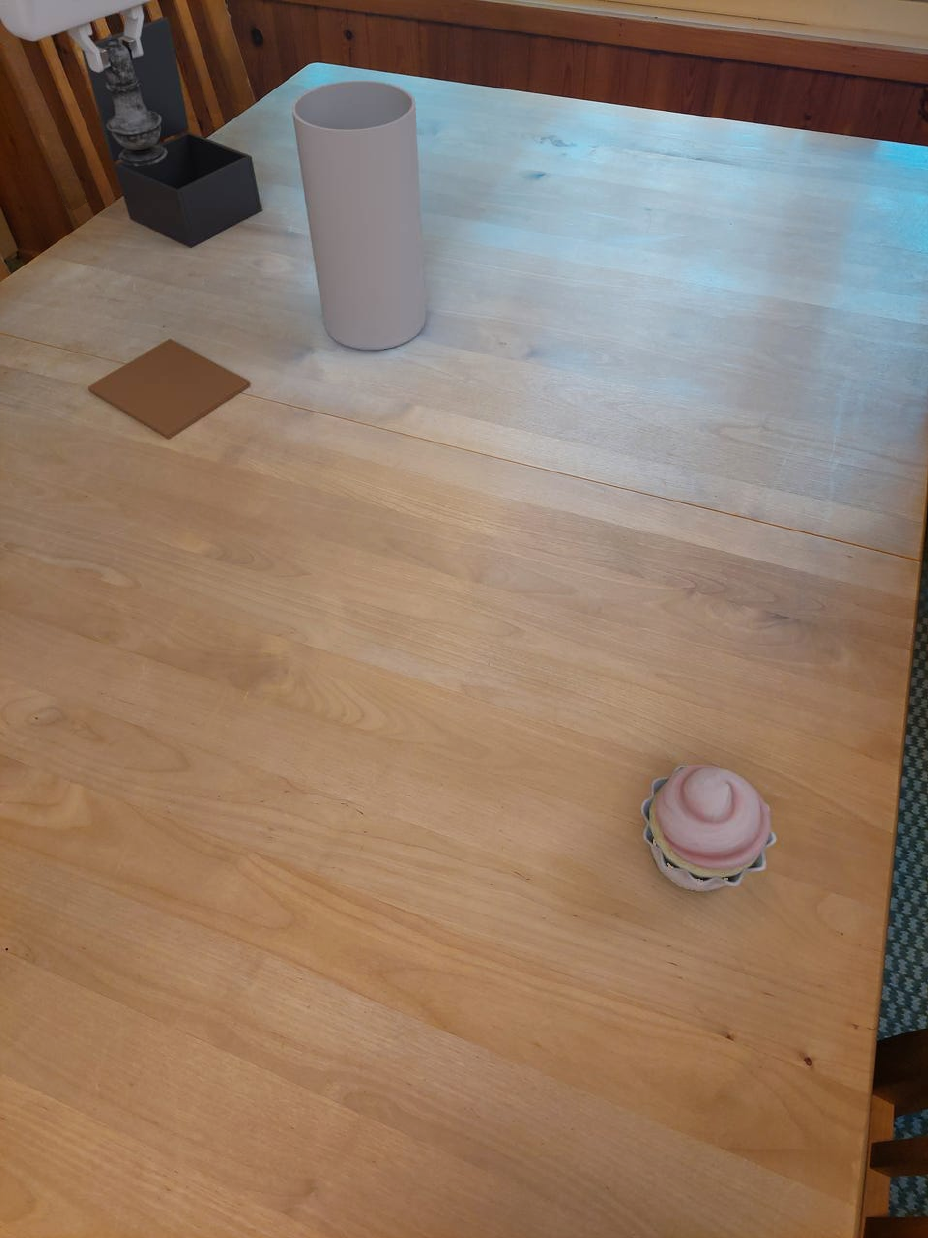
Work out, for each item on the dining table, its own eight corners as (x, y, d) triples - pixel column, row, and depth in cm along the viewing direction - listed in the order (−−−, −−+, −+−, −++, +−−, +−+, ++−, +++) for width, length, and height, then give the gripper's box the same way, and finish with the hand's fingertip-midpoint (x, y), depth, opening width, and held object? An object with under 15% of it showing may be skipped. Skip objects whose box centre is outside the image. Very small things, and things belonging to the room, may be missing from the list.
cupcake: (755, 929, 62) (794, 870, 55) (621, 895, 64) (641, 832, 56) (764, 812, 68) (801, 742, 60) (641, 783, 70) (661, 711, 62)
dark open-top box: (262, 210, 129) (251, 155, 123) (191, 247, 123) (176, 192, 117) (201, 184, 134) (188, 130, 129) (130, 219, 128) (113, 164, 122)
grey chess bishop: (107, 164, 100) (69, 41, 90) (131, 141, 103) (97, 21, 94) (156, 169, 99) (122, 45, 89) (178, 146, 102) (148, 25, 93)
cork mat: (88, 391, 103) (87, 386, 102) (170, 342, 108) (169, 338, 108) (168, 439, 97) (167, 435, 96) (250, 385, 103) (249, 381, 102)
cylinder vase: (438, 342, 108) (428, 121, 88) (335, 361, 106) (303, 138, 86) (412, 289, 115) (398, 74, 96) (316, 305, 113) (282, 88, 94)
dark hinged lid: (168, 17, 117) (164, 15, 117) (84, 48, 110) (80, 46, 111) (189, 128, 128) (185, 126, 128) (114, 162, 122) (110, 160, 122)
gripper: (138, -131, 89) (174, 28, 100) (-46, -85, 79) (16, 86, 90) (180, -122, 87) (212, 40, 98) (-4, -73, 77) (54, 102, 87)
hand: (117, 63), depth 94 cm, fingers closed on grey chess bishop, 3 cm apart
